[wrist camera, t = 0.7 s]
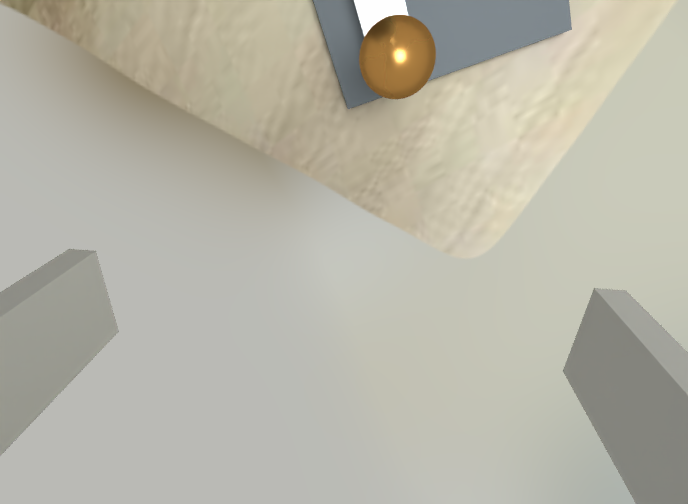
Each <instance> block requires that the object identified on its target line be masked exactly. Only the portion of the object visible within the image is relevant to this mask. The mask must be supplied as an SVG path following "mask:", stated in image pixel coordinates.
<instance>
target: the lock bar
mask: <svg viewBox="0 0 688 504" xmlns="http://www.w3.org/2000/svg"><path fill="white" fill-rule="evenodd" d="M354 2H355V6H356V9H357V13H358V16H359V20H360V23H361V27H362V30H363V34H364V39H363V42H362V44H361V48H360V54H359V65H360V70H361V74H362V76H363V78H364V80H365V82H366V84H367V85H368V86H369V87H370V88H371V89H372V90H373V91H374V92H375V93H377V94H378V95H380V96H382V97H385V98H389V99H401V98H406V97H408V96H411V95H413V94H414V93H416V92H417V91H419V90H420V89H421V88H422V87H423V86H424V85H425V84H426V82H427V81H428V80H429V78H430V76H431V74H432V72H433V69H434V65H435V60H436V48H435V43H434V40H433V37H432V35H431V33H430V31H429V30H428V28H427V27H426V26H425V25H424V24H423V23H422V22H421V21H419V20H418V19H416V18H414V17H412V16H408V13H407V9H406V5H405V1H404V0H354Z"/></svg>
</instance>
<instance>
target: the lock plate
mask: <svg viewBox="0 0 688 504" xmlns="http://www.w3.org/2000/svg"><path fill="white" fill-rule="evenodd" d="M404 1H405V5H406V9H407V13H408V16H412V17H414V18H416V19H418V20H419V21H421V22H422V23H423V24H424V25H425V26H426V27H427V28H428V30H429V31H430V33H431V35H432V37H433V40H434V43H435V48H436V60H435V65H434V69H433V72H432V74H431V76H430V78H429V80H432V79H435V78H437V77H440V76H443V75H446V74H449V73H451V72H454V71H457V70H460V69H463V68H465V67H468V66H471V65H474V64H477V63H479V62H482V61H485V60H488V59H491V58H493V57H496V56H499V55H502V54H505V53H507V52H510V51H513V50H516V49H519V48H521V47H524V46H527V45H530V44H533V43H535V42H538V41H541V40H544V39H547V38H549V37H552V36H555V35H558V34H561V33H563V32H566V31H569V30H572V27H571V17H570V7H569V0H404ZM313 2H314V5H315V8H316V11H317V14H318V17H319V21H320V24H321V27H322V30H323V33H324V36H325V39H326V42H327V45H328V49H329V52H330V55H331V58H332V61H333V64H334V67H335V70H336V73H337V77H338V80H339V83H340V86H341V89H342V92H343V95H344V98H345V102H346V105H347V108H348V109H350V108H353V107H356V106H359V105H362V104H364V103H367V102H370V101H373V100H376V99H378V98H381V97H382V96H380V95H378V94H377V93H375V92H374V91H373V90H372V89H371V88H370V87H369V86H368V85H367V84H366V82H365V80H364V78H363V76H362V74H361V70H360V65H359V54H360V48H361V44H362V42H363V39H364V34H363V30H362V27H361V23H360V20H359V16H358V13H357V9H356V6H355V2H354V0H313ZM429 80H428V81H429Z"/></svg>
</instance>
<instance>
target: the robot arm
mask: <svg viewBox="0 0 688 504" xmlns="http://www.w3.org/2000/svg"><path fill="white" fill-rule="evenodd" d="M118 332H119V331H118V328H117V324H116V320H115V317H114V313H113V310H112V306H111V303H110V299H109V296H108V292H107V289H106V285H105V282H104V278H103V275H102V271H101V268H100V264H99V261H98V257H97V254H96V251H88V250H74V249H69V250H67V251H65V252H64V253H63V254H61V255H59V256H57V257H56V258H55V259H53V260H51V261H50V262H48V263H46V264H45V265H43V266H41V267H40V268H38V269H37V270H35V271H34V272H32V273H30V274H29V275H27V276H26V277H24V278H23V279H21V280H19V281H18V282H16V283H14V284H13V285H11V286H10V287H8V288H6V289H5V290H4V291H2V292H0V456H1V455H2V454H3V453H4V452H5V451H6V449H7V448H8V447H9V446H10V445H11V444H12V443H13V442H14V441H15V440H16V439H17V438H18V437H19V436H20V435H21V434H22V433H23V432H24V430H25V429H26V428H27V427H28V426H29V425H30V424H31V423H32V422H33V421H34V420H35V419H36V418H37V417H38V416H39V415H40V414H41V413H42V412H43V410H45V408H46V407H47V406H48V405H49V404H50V403H51V402H52V401H53V400H54V399H55V398H56V397H57V396H58V394H60V393H61V392H62V390H64V388H65V387H66V386H67V385H68V384H69V383H70V382H71V381H72V380H73V379H74V378H75V377H76V376H77V375H78V374H79V373H80V372H81V370H83V368H84V367H85V366H86V365H87V364H88V363H89V362H90V361H91V360H92V359H93V358H94V357H95V356H96V355H97V353H99V352H100V351H101V350H102V348H103V347H104V346H105V345H106V344H107V343H108V342H109V341H110V340H111V339H112V338H113V337H114V336H115V335H116V334H117V333H118ZM563 372H564V374H565V376H566V378H567V379H568V381H569V383H570V385H571V387H572V388H573V390H574V392H575V394H576V396H577V397H578V399H579V401H580V403H581V405H582V407H583V408H584V410H585V412H586V414H587V416H588V417H589V419H590V421H591V423H592V425H593V426H594V428H595V430H596V432H597V434H598V435H599V437H600V439H601V441H602V443H603V444H604V446H605V448H606V450H607V452H608V454H609V455H610V457H611V459H612V461H613V463H614V465H615V466H616V468H617V470H618V472H619V474H620V475H621V477H622V479H623V481H624V483H625V485H626V486H627V488H628V490H629V492H630V494H631V495H632V497H633V499H634V501H635V503H636V504H688V352H687V351H686V350H685V349H684V348H683V347H682V346H681V345H680V344H679V343H678V342H677V341H676V340H675V339H674V338H673V337H672V336H671V335H670V334H669V333H668V332H667V331H666V330H665V329H664V328H663V327H662V326H661V325H660V324H659V323H658V322H657V321H656V320H655V319H654V318H653V317H652V316H651V315H650V314H649V313H648V312H647V311H646V310H645V309H644V308H643V307H642V306H641V305H640V304H639V303H638V302H637V301H636V300H635V299H634V298H633V297H632V296H631V295H630V294H629V293H628V292H627V291H624V290H610V289H598V288H594V290H593V293H592V295H591V298H590V301H589V303H588V306H587V309H586V311H585V314H584V317H583V319H582V322H581V324H580V327H579V330H578V332H577V335H576V338H575V340H574V343H573V346H572V348H571V351H570V354H569V356H568V359H567V362H566V364H565V367H564V369H563Z"/></svg>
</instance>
